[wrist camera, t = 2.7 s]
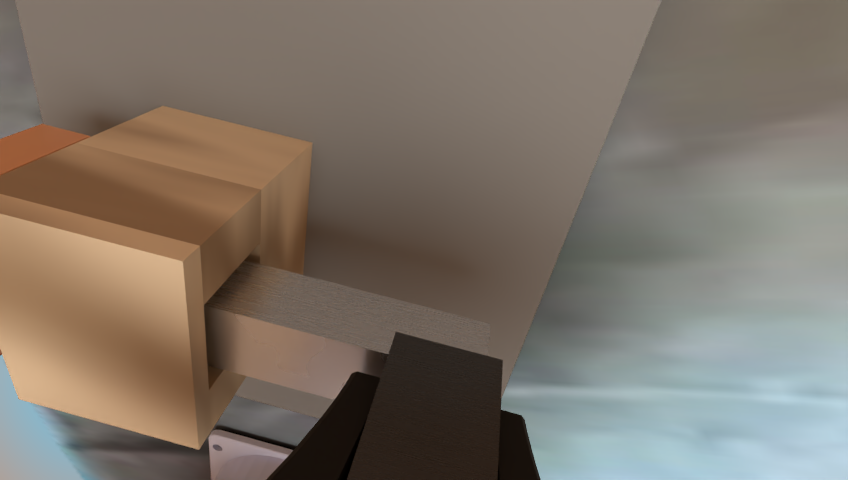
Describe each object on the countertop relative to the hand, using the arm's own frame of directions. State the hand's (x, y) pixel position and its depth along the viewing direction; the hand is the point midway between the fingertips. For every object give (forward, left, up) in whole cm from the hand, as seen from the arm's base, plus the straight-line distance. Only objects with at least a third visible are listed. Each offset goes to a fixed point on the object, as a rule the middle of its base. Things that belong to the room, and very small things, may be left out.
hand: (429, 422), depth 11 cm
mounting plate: (0, +6, -8) cm, 10 cm away
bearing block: (0, +8, -7) cm, 10 cm away
